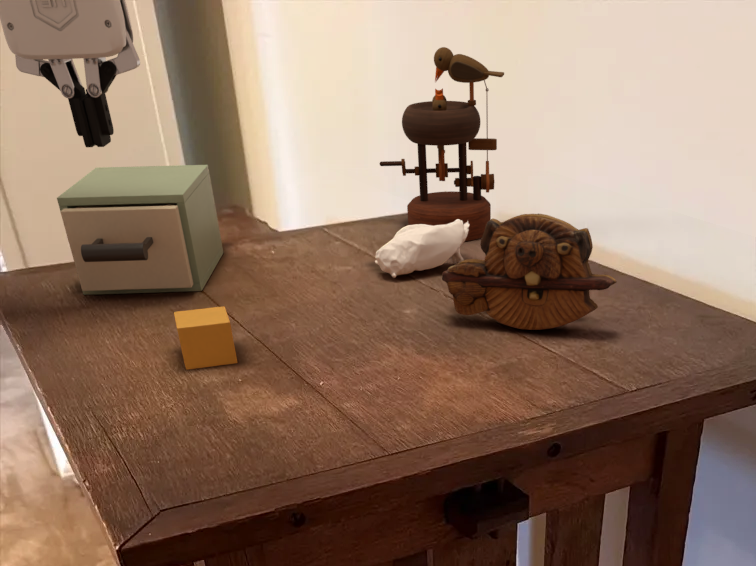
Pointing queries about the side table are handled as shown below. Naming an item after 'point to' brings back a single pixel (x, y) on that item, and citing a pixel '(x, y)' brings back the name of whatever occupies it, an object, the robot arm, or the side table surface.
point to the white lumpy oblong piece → (422, 247)
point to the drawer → (128, 246)
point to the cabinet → (155, 187)
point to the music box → (450, 127)
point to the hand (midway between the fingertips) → (98, 144)
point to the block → (205, 337)
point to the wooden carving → (528, 274)
